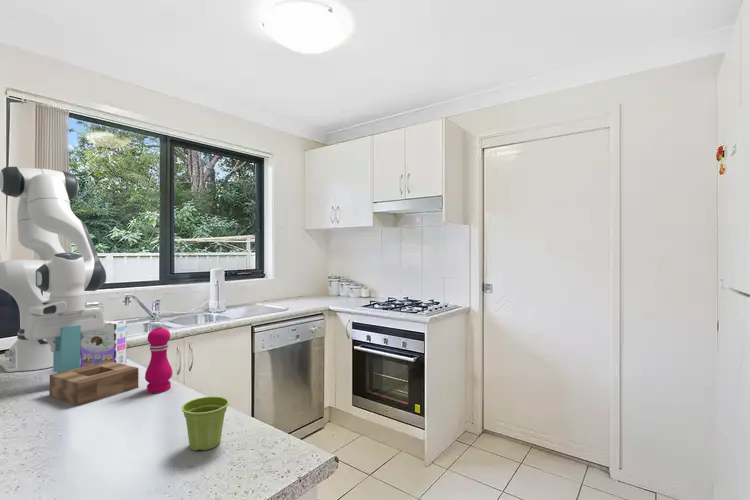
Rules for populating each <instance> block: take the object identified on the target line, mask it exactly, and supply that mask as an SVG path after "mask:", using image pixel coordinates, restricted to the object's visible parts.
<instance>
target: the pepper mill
mask: <svg viewBox="0 0 750 500" xmlns="http://www.w3.org/2000/svg"><path fill="white" fill-rule="evenodd" d="M170 340H171V333H170V331H169V330H168V329H166V328H164V327H163V324H162V322H158V323H156V325H155V328H154V329H152V330H151V331H150V332H149V333H148V335H147V342H148V343H149V344H150V345H149V351H150V353H151V354H150V361H149V364H148V366H147V368H146V370H145V375H144V379H145V381H146V382H147V384H146V392H148V393H150V394H157V393H163V392H167V391H168V390H170V389H171V385H172V384H171V383H172V382H171V381H170V379H171V378H172V377H173V368H172V366H171V364H170V362H169V360H168V354H167V351H168V349H169V343H168V342H169V341H170Z"/></svg>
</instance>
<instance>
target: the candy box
mask: <svg viewBox="0 0 750 500" xmlns="http://www.w3.org/2000/svg"><path fill="white" fill-rule="evenodd" d="M104 321H105V326H104V327H103V329H101V330H95V331H89V332H87V336H86V338H85V339H84V341H83V346H82V347H80V368H81V367H86V366H90V365H94V364H99V363H103V362H107V361H111V362H115V363H120V364H124V365H127V320H104Z"/></svg>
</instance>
